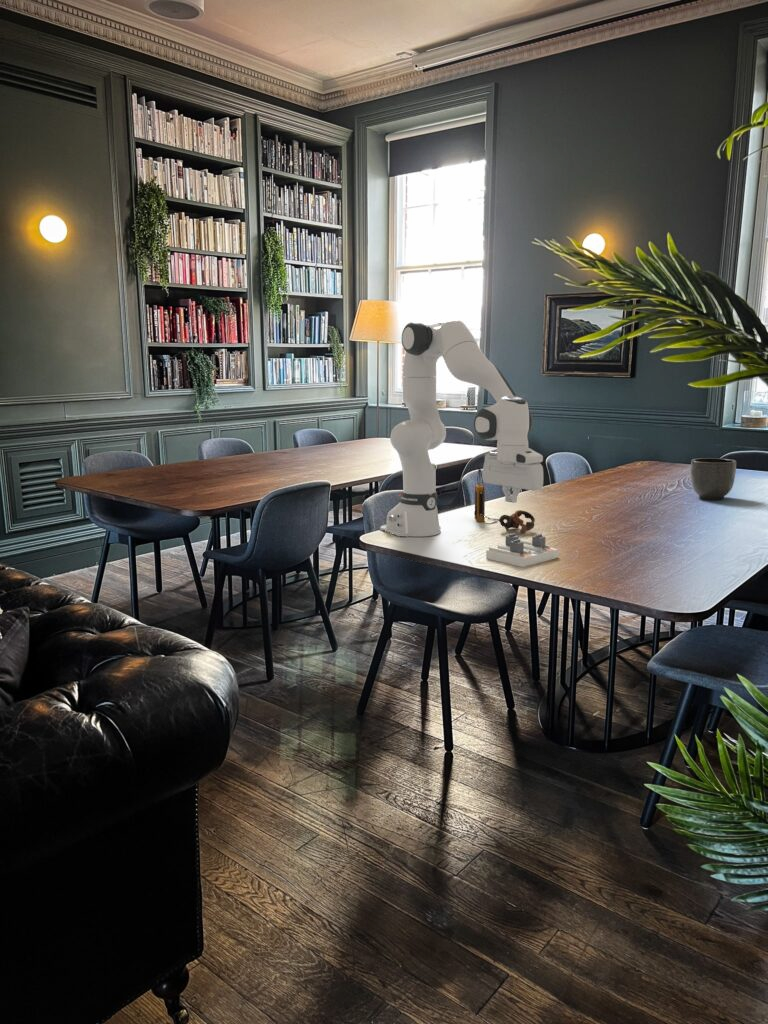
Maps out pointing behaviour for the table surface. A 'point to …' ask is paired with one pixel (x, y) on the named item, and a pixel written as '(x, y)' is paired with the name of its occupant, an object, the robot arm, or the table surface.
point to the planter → (712, 477)
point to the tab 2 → (538, 541)
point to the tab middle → (511, 538)
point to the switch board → (527, 558)
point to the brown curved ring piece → (517, 521)
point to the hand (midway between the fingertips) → (510, 502)
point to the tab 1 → (516, 546)
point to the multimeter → (480, 501)
